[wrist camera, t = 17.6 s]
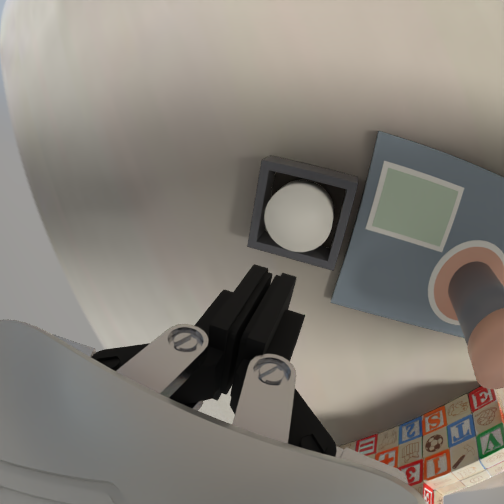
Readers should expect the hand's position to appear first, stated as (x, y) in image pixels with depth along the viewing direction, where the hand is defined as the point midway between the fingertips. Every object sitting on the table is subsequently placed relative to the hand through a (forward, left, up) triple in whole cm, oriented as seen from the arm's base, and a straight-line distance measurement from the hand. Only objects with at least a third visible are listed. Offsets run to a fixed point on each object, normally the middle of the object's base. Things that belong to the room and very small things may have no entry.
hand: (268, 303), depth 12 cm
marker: (-15, +2, -12) cm, 19 cm away
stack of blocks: (-20, +22, -14) cm, 33 cm away
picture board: (-12, 0, -13) cm, 18 cm away
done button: (+1, 0, -12) cm, 13 cm away
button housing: (+1, 0, -13) cm, 13 cm away
